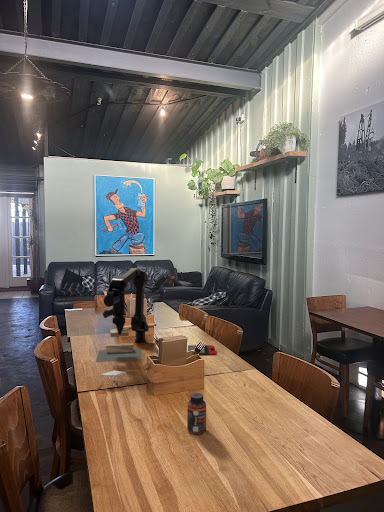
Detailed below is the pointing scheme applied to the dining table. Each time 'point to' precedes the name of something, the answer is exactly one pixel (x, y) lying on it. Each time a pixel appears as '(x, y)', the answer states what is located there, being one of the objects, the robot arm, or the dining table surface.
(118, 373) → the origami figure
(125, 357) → the mat
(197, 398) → the supplement bottle
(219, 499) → the dining table surface
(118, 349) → the rail
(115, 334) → the deck
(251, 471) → the dining table surface
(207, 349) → the gaming console
